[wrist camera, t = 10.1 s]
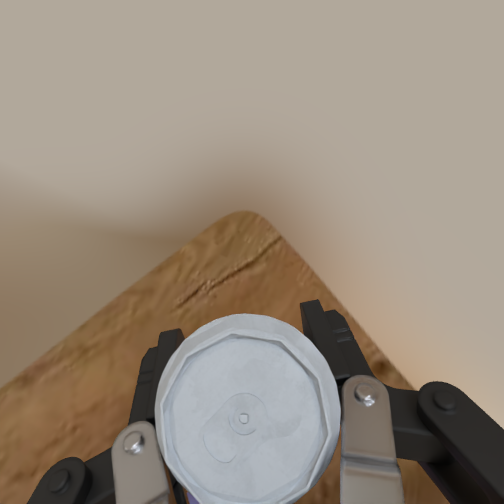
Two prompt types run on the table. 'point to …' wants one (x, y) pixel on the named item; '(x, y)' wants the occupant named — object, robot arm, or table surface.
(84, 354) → the table surface
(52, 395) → the table surface
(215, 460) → the beer can
